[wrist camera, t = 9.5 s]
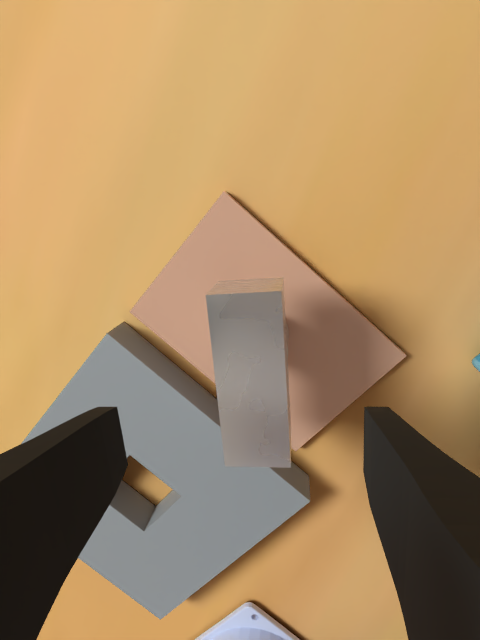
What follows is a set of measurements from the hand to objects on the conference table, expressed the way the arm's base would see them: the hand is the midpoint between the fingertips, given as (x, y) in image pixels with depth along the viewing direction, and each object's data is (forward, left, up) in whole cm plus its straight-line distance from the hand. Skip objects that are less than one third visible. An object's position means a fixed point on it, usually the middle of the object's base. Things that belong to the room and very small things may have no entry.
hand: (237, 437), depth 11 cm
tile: (0, 0, -10) cm, 10 cm away
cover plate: (-1, +12, -10) cm, 15 cm away
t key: (0, 0, -9) cm, 9 cm away
